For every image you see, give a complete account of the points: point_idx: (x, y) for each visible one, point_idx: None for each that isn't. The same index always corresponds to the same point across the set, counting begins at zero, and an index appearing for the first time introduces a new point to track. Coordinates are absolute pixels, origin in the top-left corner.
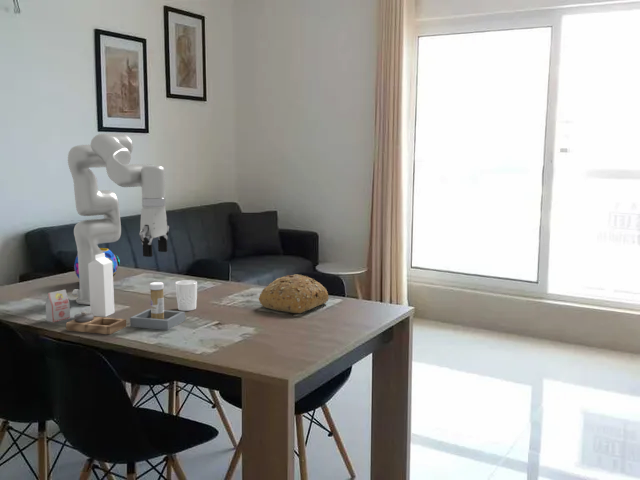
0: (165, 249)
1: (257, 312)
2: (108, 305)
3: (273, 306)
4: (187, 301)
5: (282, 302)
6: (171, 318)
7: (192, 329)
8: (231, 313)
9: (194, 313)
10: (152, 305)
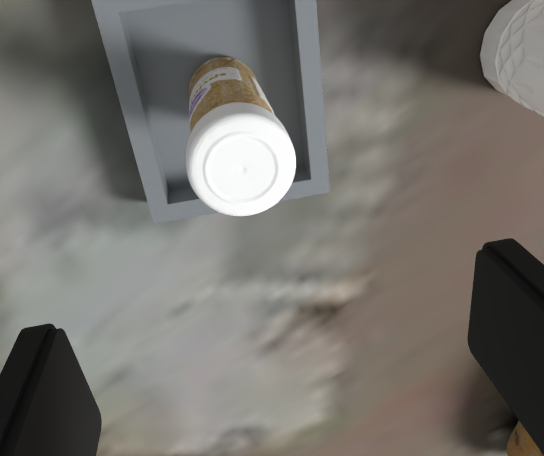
0: (482, 363)
1: None
2: None
3: None
4: (508, 91)
5: None
6: (197, 212)
7: (215, 279)
8: None
9: (444, 137)
10: (189, 113)
